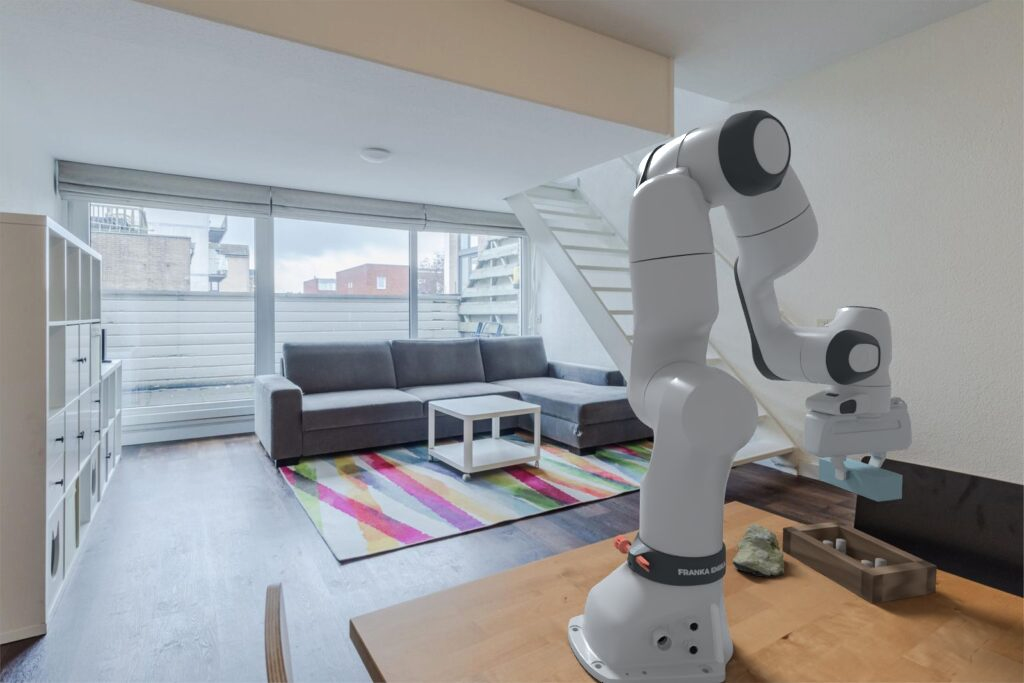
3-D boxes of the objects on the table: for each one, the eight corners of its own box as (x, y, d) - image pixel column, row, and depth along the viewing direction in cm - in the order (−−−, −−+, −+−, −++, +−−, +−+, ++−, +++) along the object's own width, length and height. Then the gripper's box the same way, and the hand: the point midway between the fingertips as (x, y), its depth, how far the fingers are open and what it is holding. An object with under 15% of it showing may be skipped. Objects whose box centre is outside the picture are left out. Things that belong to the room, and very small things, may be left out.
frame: (871, 603, 83) (873, 575, 83) (782, 550, 102) (783, 527, 102) (935, 592, 87) (936, 565, 86) (837, 543, 105) (838, 521, 105)
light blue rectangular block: (818, 479, 99) (819, 458, 98) (840, 477, 100) (841, 456, 100) (877, 501, 87) (878, 477, 87) (901, 498, 88) (902, 475, 88)
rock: (741, 585, 92) (800, 577, 91) (736, 549, 91) (795, 541, 91) (720, 557, 102) (773, 551, 102) (716, 525, 102) (768, 518, 101)
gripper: (889, 393, 98) (887, 467, 99) (797, 399, 93) (795, 477, 94) (923, 399, 92) (921, 477, 93) (826, 405, 87) (825, 488, 88)
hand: (857, 477), depth 93 cm, fingers closed on light blue rectangular block, 5 cm apart
